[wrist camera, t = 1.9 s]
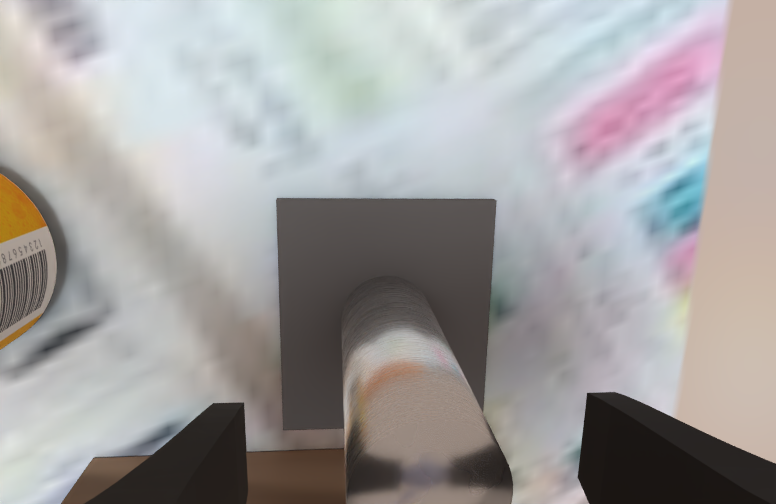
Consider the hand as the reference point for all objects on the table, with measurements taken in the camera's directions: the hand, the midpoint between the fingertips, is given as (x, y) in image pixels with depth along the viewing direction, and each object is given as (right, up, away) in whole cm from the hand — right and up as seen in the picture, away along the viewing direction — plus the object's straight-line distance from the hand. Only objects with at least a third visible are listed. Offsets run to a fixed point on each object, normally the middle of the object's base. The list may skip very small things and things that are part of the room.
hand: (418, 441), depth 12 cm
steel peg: (-1, +2, +7) cm, 7 cm away
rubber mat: (-1, +2, +7) cm, 8 cm away
